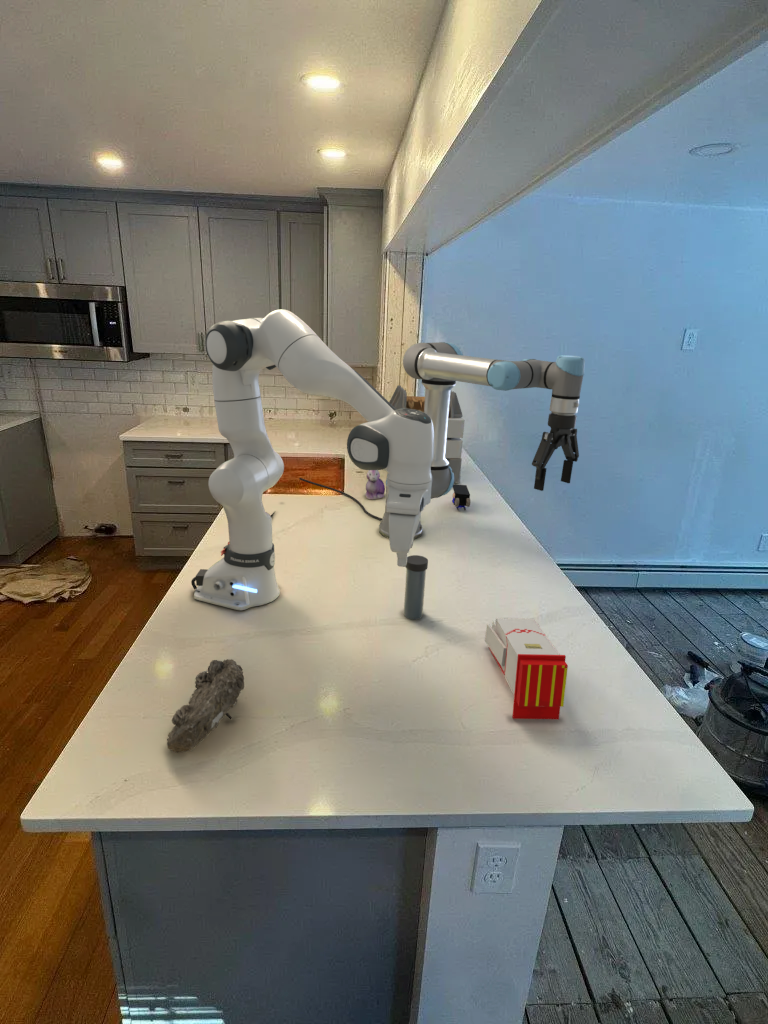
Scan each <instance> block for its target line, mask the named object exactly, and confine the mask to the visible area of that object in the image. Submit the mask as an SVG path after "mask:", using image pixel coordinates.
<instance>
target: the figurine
mask: <svg viewBox="0 0 768 1024" xmlns="http://www.w3.org/2000/svg"><path fill="white" fill-rule="evenodd" d="M366 478H367V482H366V484H365V491H366V492H365V496H364V497H366V499H368V500H377V499H378V500H379V499H382V498H384V497H385V493H386V485H385V483H384V481H383V480H382V479H381V473H380V470H367V473H366Z"/></svg>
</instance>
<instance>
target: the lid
mask: <svg viewBox="0 0 768 1024" xmlns="http://www.w3.org/2000/svg"><path fill="white" fill-rule="evenodd" d="M428 567H429V560H428V558H427V557H426V556H423V555H418V554H413V555H409V556H408V555H407V564H406V566H405V567H404V568H405V569H406V568H407V569H408V570H410V571H415V572H421V571H425V570H426V571H427V570H428Z"/></svg>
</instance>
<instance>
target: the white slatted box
mask: <svg viewBox="0 0 768 1024" xmlns="http://www.w3.org/2000/svg"><path fill="white" fill-rule="evenodd" d="M407 394H408V393H407V390H406V389H404V388H403V387H402V385H399V384H398V385H397V386H396V388H395V390H394V392H393V394H392V395H391V398H390V400H389V401H388V402H389V403H390V404H391V405H392V406H394V407H395V408H396V409H401V408H409V409H415V410H419V411H422V412H424V404H425V396H415V395H414V396H413V395H412V396H411V395H407ZM464 429H465V419H464V418H463V411H462V408H461V405H460V402H459V398H458V395H457V392H455V391H453V390H451V392H450V404H449V416H448V428H447V441H446V453H445V458H446V459H447V461H448V462H449V466H450V467H451V469H452V473H454V484H459V483H461V472H462V461H463V460H462V453H463V442H464V441H463V440H462V439H463V438H464V431H465V430H464Z"/></svg>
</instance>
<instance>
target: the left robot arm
mask: <svg viewBox="0 0 768 1024" xmlns="http://www.w3.org/2000/svg"><path fill="white" fill-rule="evenodd" d="M205 336H206V337H205V341H204V342H205V343H204V344H205V351H206V354H207V357H208V359H209V360H210V362H211V364H212V369H211V371H212V374H211V378H212V380H211V381H212V382H211V383H212V394H213V400H214V408H215V414H216V422H217V429H218V432H219V434H220V435H221V436H222V437H223V438H225V439H226V441H228V443H229V445H230V447H231V450H232V453H233V458H230V459H229V460H226V461H224V462H223V463H222V462H221V464H219V466H217V468H216V469H214V470H213V472H211V474H210V476H209V478H208V482H207V483H208V489H209V493H210V495H211V497H212V498H213V499H214V501H216V502H217V503H218V504H220V505H221V506H222V508H223V511H224V513H225V516H226V519H227V526H228V527H227V528H228V540H229V541H227V544H226V545H225V546H224V547H223V549H222V550H221V551H220V556H223V557H222V558H220V559H219V560H218V561H216V562H215V563H214V564H212V565H211V566H210V567H209V568H208V569H207V568H206V569H204V568H203V569H202V568H200V569H199V570H198V572H197V573H196V575H195V576H194V577H193V578H192V579H191V581H190V584H191V586H192V589H193V590H194V595H193V598H194V599H195V600H196V601H200V602H205V603H207V604H211V605H212V604H213V605H216V606H220V607H222V608H223V607H224V608H228V609H232V610H235V611H245V610H247V609H251V608H253V607H258V606H264V605H267V604H270V603H271V602H273V601H275V600H276V599H277V598H278V597H279V596H280V594H281V589H280V587H279V585H278V584H279V583H278V581H277V577H276V570H275V564H276V553H275V552H276V551H275V544H274V543H273V519H272V518H271V514H269V513H268V512H267V511H266V509H265V507H264V504H263V493H265V492H266V491H268V490H270V489H271V488H273V487H274V486H275V485H277V483H278V482H279V481H280V479H281V478H282V476H283V474H284V471H285V463H284V460H283V458H282V457H281V455H280V454H279V453H278V452H277V451H276V450H275V449H274V447H273V445H272V441H270V438H269V435H268V431H267V427H266V424H265V417H264V411H263V409H264V408H263V403H262V397H261V396H262V395H261V389H260V388H261V387H260V382H259V381H260V379H259V376H260V373H261V372H262V370H264V369H267V370H269V371H271V370H274V369H275V368H277V370H278V371H279V372H280V374H281V375H282V376H283V377H284V378H285V379H286V381H287V382H288V383H289V384H290V385H291V386H293V387H294V388H295V389H296V390H297V391H299V392H301V393H302V394H305V395H310V396H317V397H325V398H331V399H335V400H338V401H342V402H344V403H346V404H348V405H349V406H351V407H352V408H353V409H354V410H355V411H356V412H357V413H358V414H360V416H362V418H364V420H365V421H367V422H363V423H360V424H358V425H355V426H354V427H353V428H352V429H350V431H349V433H348V436H347V439H346V450H347V451H346V452H347V454H348V457H349V459H350V461H351V462H352V464H353V465H355V466H356V468H358V469H360V470H362V471H369V470H378V471H385V472H386V480H387V502H386V501H385V504H386V512H389V538H388V540H389V541H388V542H389V548H390V551H391V553H396V558H397V560H396V561H397V562H396V565H397V566H398V567H400V568H406V567H405V566H406V564H407V557H408V554H409V552H410V551H411V549H412V548H413V546H414V540H415V539H414V536H415V533H416V530H417V527H418V524H419V521H420V522H421V517H422V512H423V511H424V510H425V508H426V506H427V505H429V504H430V503H431V486H432V474H431V464H432V461H433V457H434V427H433V423H432V420H431V418H430V417H429V416H428V415H427V414H426V413H424V412H422V411H419V410H415V409H409V408H401V409H396V408H395V407H394V406H392V405H391V404H390V403H389V401H388V400H387V398H386V397H384V396H383V395H382V394H381V393H380V392H379V391H378V390H377V389H376V388H375V386H373V385H372V384H371V383H370V382H369V381H368V380H367V379H366V378H365V377H363V376H362V375H361V374H360V373H359V372H357V371H356V370H355V369H354V368H353V367H351V365H349V364H347V363H346V362H345V361H344V360H342V359H341V358H340V357H339V356H338V355H337V354H336V353H335V352H334V351H333V350H332V349H330V347H329V346H328V345H327V344H326V343H325V342H324V341H323V340H322V339H321V337H319V335H318V334H317V333H316V332H315V331H314V330H313V329H312V328H311V326H309V325H308V324H307V323H306V322H305V321H303V320H302V318H300V317H299V316H297V315H296V314H295V313H293V312H292V311H290V310H288V309H284V308H282V309H281V308H279V309H276V310H273V311H271V312H269V313H268V314H266V315H265V316H264V317H248V318H243V319H235V320H222V321H219V322H216V323H214V324H213V325H211V326H210V327H209V329H208V330H207V332H206V335H205Z"/></svg>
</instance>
